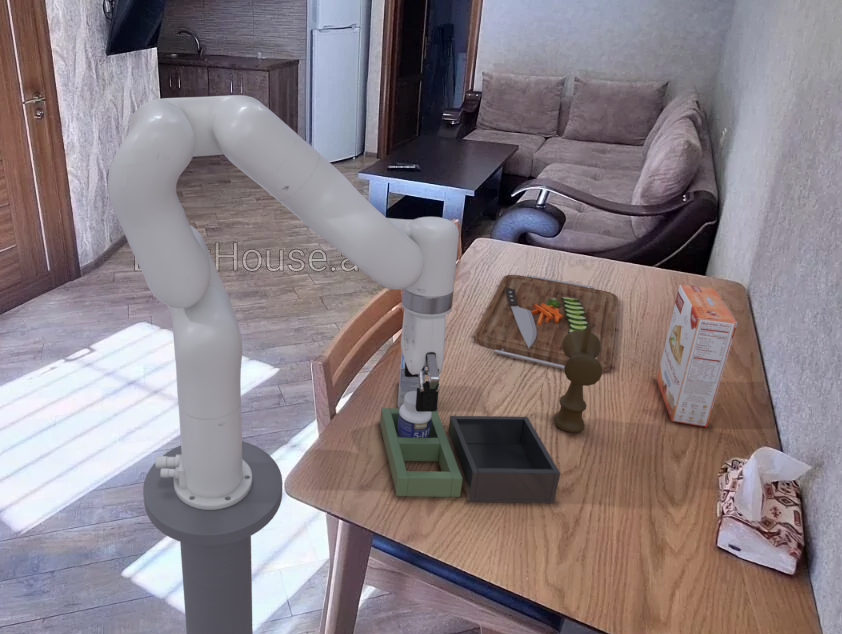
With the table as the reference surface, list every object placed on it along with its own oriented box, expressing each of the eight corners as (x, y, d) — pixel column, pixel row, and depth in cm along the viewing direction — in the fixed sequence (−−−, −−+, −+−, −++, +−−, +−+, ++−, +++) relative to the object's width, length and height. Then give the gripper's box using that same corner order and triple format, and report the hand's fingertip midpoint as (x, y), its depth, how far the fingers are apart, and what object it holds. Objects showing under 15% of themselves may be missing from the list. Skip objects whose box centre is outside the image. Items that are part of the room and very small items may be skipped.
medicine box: (422, 411, 117) (426, 370, 114) (396, 408, 118) (400, 367, 114) (422, 387, 124) (426, 348, 121) (398, 384, 125) (402, 345, 122)
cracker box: (653, 380, 126) (678, 282, 118) (689, 386, 124) (716, 287, 116) (668, 422, 114) (697, 315, 106) (707, 429, 112) (740, 321, 104)
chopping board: (608, 382, 125) (611, 368, 124) (468, 348, 137) (469, 336, 136) (618, 294, 162) (620, 283, 161) (506, 274, 174) (508, 263, 173)
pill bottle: (414, 456, 105) (419, 411, 102) (389, 441, 109) (393, 396, 106) (434, 443, 108) (440, 398, 105) (409, 428, 112) (414, 384, 109)
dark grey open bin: (468, 502, 96) (472, 472, 94) (446, 443, 108) (450, 415, 106) (554, 503, 96) (560, 473, 93) (522, 444, 108) (527, 416, 106)
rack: (396, 496, 97) (398, 477, 96) (379, 424, 113) (381, 407, 112) (460, 497, 97) (462, 478, 96) (434, 425, 113) (436, 408, 112)
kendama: (585, 414, 116) (607, 314, 108) (588, 446, 108) (611, 341, 100) (549, 406, 118) (568, 308, 110) (549, 437, 110) (569, 333, 102)
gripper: (393, 275, 107) (388, 364, 113) (413, 325, 91) (406, 425, 97) (439, 274, 107) (431, 364, 113) (467, 324, 91) (456, 425, 97)
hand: (419, 392), depth 105 cm, fingers open, 9 cm apart
